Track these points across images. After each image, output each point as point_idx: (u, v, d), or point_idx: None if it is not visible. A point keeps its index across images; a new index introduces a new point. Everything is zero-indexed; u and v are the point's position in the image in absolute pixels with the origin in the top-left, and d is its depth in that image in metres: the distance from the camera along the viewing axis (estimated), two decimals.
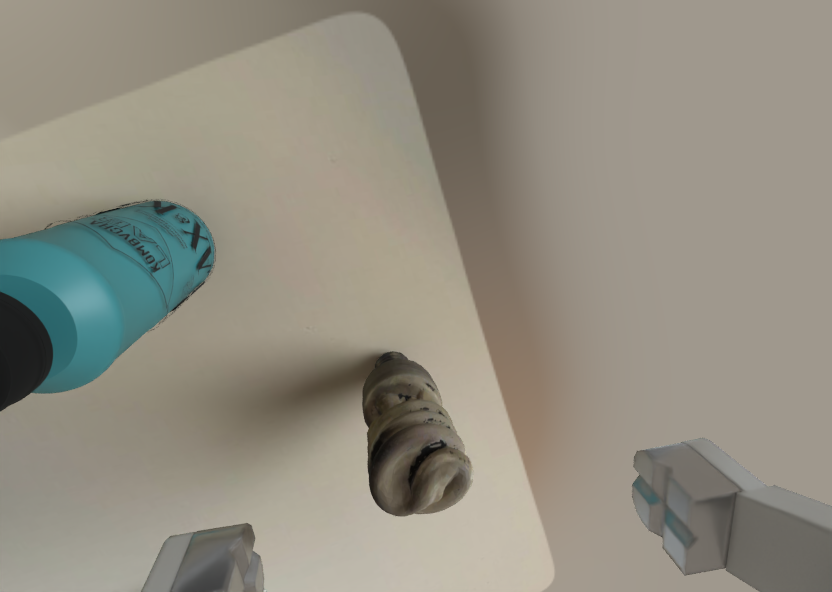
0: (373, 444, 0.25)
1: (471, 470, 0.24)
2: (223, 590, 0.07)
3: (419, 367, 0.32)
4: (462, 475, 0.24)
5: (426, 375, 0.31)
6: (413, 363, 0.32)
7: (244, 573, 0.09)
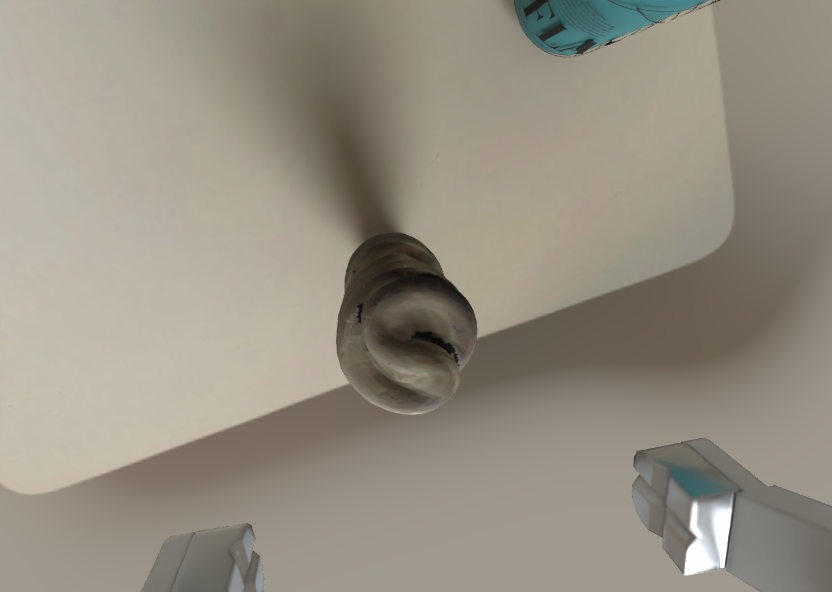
0: (437, 274, 0.19)
1: None
2: (223, 590, 0.07)
3: None
4: (422, 401, 0.18)
5: None
6: None
7: (244, 573, 0.09)
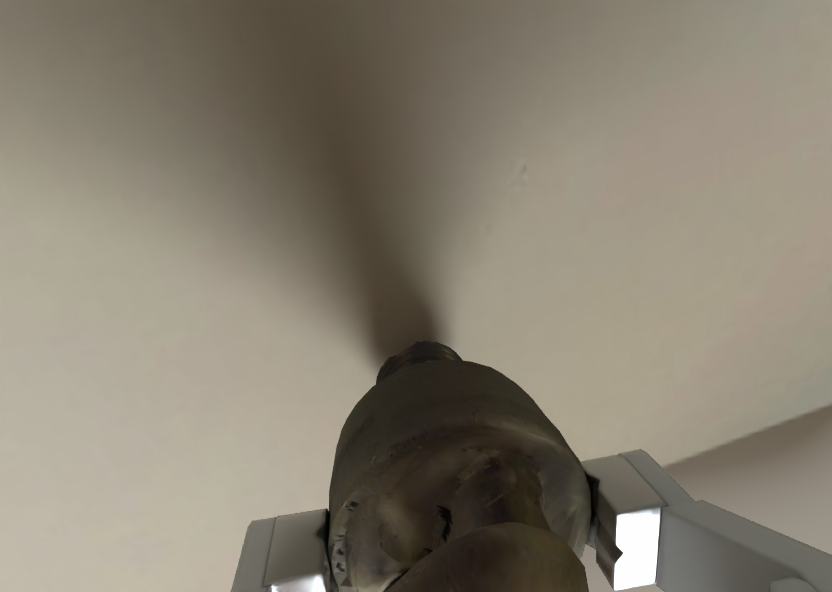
0: None
1: None
2: (318, 571, 0.08)
3: None
4: None
5: None
6: None
7: (327, 557, 0.09)
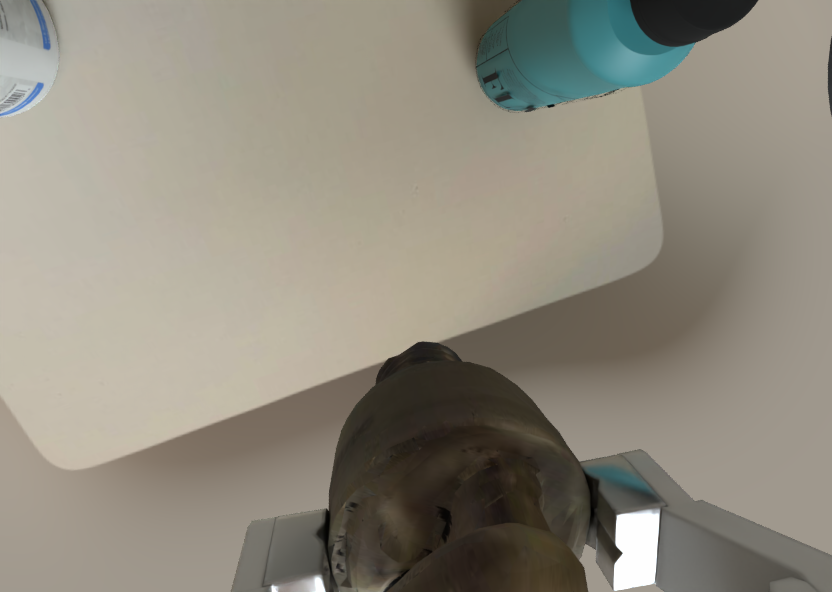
0: None
1: None
2: (318, 571, 0.08)
3: None
4: None
5: None
6: None
7: (327, 557, 0.09)
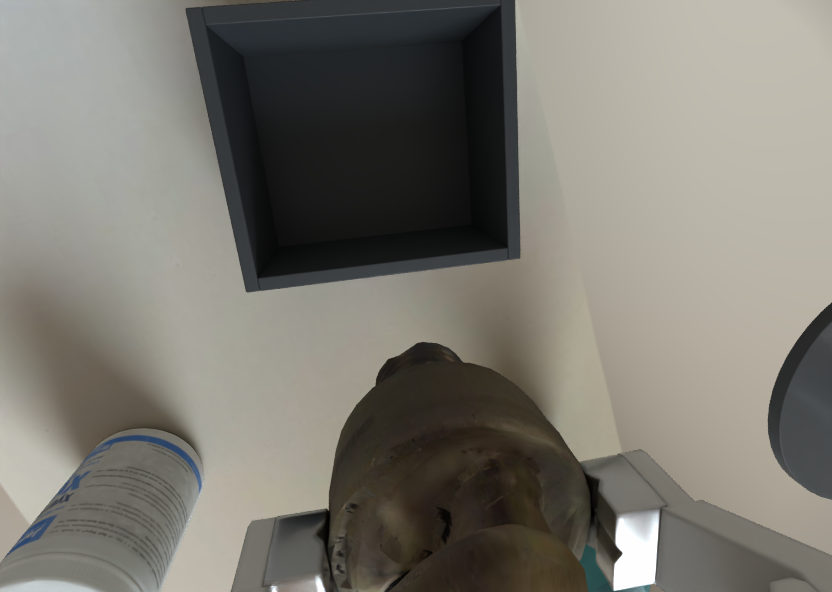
0: None
1: None
2: (318, 571, 0.08)
3: None
4: None
5: None
6: None
7: (327, 557, 0.09)
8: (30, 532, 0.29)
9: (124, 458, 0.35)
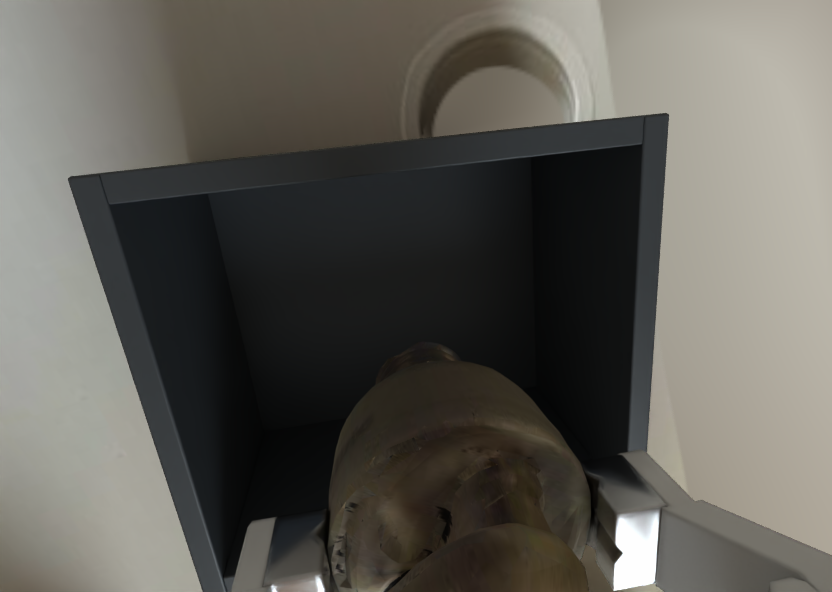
0: None
1: None
2: (318, 571, 0.08)
3: None
4: None
5: None
6: None
7: (327, 557, 0.09)
8: None
9: None
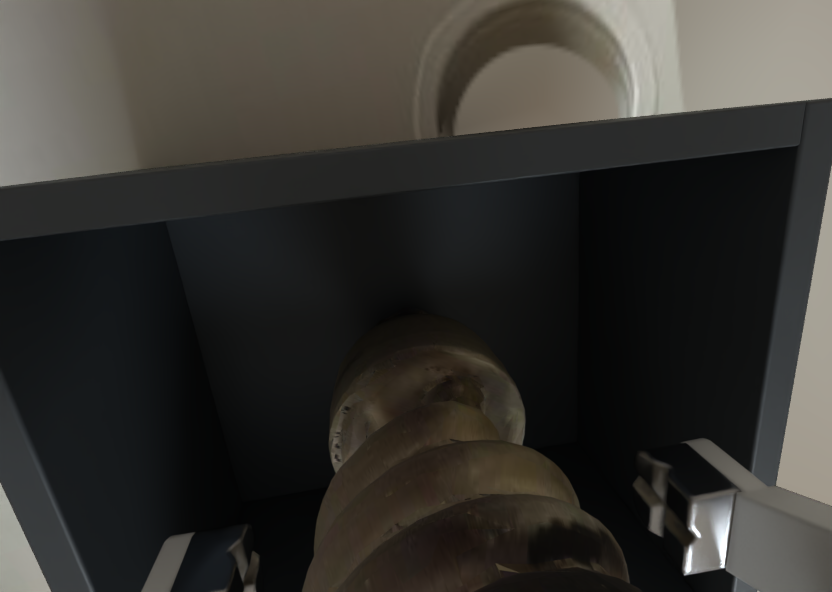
0: (572, 516, 0.07)
1: None
2: (223, 590, 0.07)
3: None
4: None
5: None
6: None
7: (244, 573, 0.09)
8: None
9: None
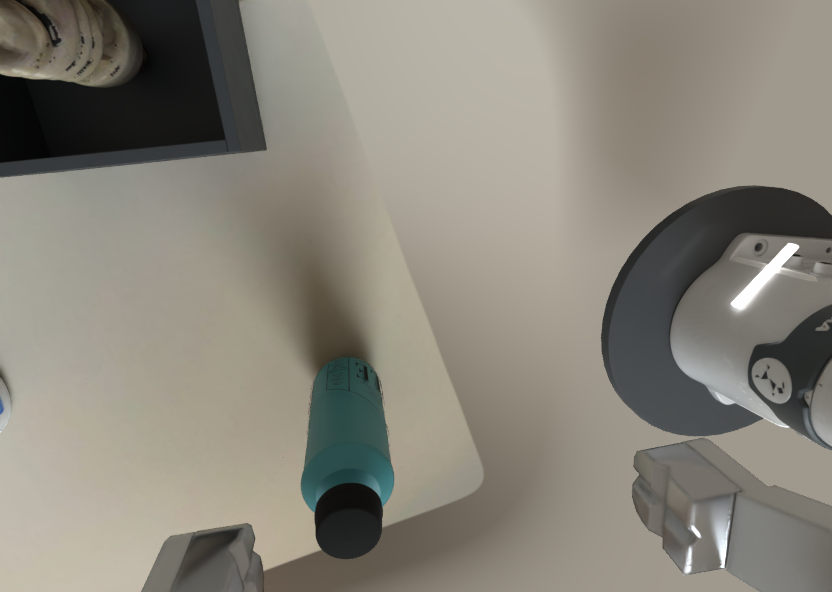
0: None
1: (25, 69, 0.22)
2: (223, 590, 0.07)
3: (136, 67, 0.30)
4: (17, 57, 0.22)
5: (128, 71, 0.30)
6: (139, 61, 0.31)
7: (244, 573, 0.09)
8: None
9: None
